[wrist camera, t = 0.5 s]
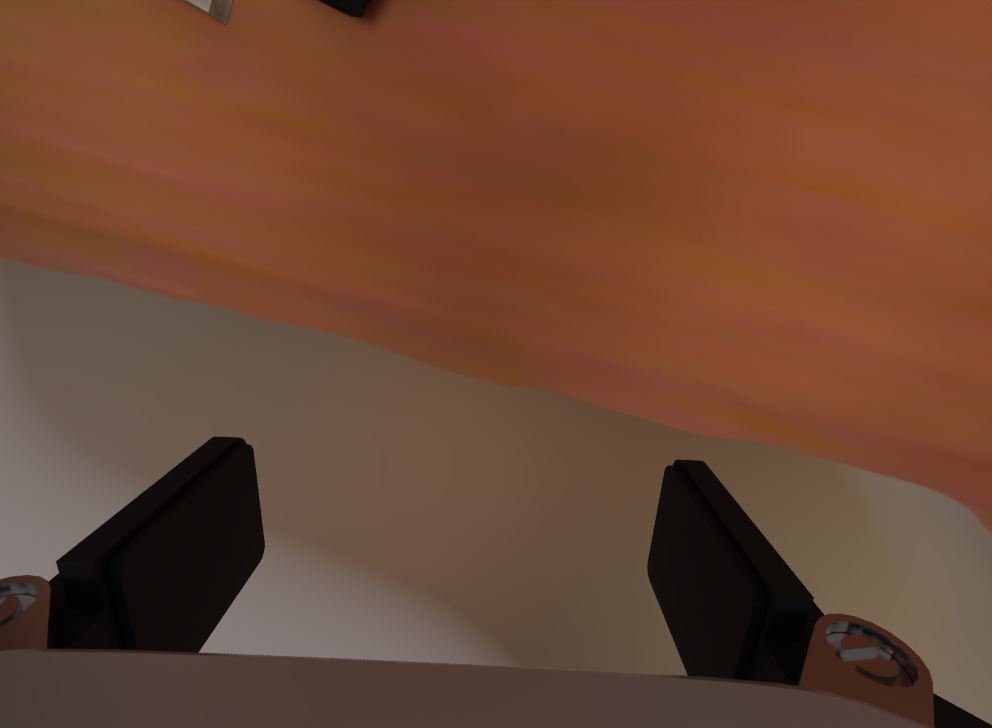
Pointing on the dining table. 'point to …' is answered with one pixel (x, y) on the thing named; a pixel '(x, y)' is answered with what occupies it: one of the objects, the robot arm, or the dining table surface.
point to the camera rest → (213, 8)
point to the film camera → (348, 6)
